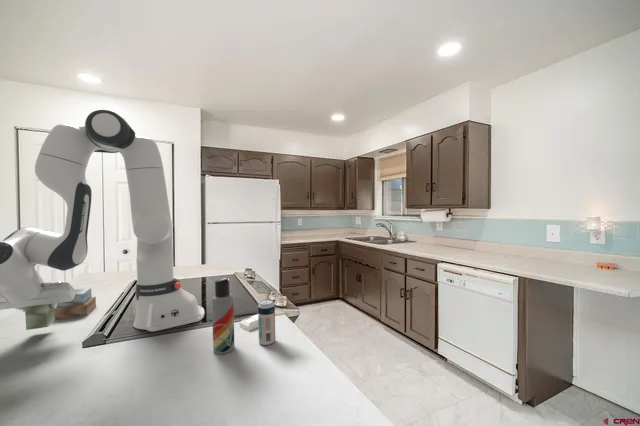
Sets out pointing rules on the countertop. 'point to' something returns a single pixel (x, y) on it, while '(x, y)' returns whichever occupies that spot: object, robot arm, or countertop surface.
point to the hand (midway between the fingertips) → (41, 307)
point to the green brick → (39, 316)
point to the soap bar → (249, 323)
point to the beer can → (266, 322)
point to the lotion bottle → (223, 317)
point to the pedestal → (76, 305)
